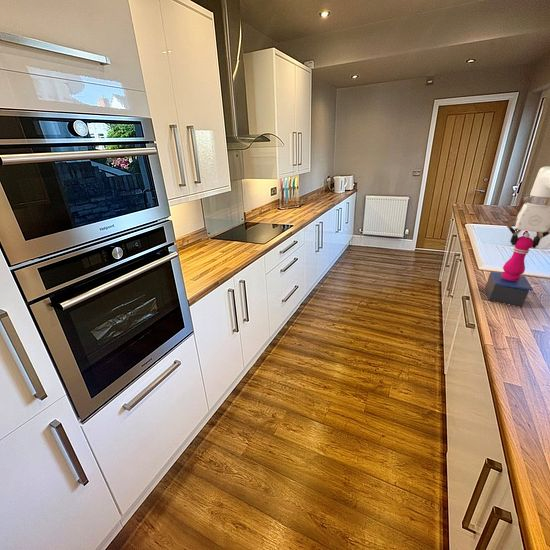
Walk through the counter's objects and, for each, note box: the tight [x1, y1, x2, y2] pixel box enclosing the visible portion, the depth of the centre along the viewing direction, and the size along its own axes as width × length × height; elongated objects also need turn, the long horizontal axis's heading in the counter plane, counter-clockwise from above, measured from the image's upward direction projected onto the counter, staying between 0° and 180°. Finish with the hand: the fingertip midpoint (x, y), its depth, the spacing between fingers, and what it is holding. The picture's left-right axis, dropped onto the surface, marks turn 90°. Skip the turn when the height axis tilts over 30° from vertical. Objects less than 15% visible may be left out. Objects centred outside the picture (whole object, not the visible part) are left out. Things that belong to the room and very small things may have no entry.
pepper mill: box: [501, 232, 534, 281], centre depth 120 cm, size 7×7×20 cm
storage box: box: [484, 272, 530, 308], centre depth 127 cm, size 12×14×8 cm
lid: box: [490, 271, 534, 292], centre depth 125 cm, size 12×14×1 cm
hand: (522, 245), depth 118 cm, fingers closed on pepper mill, 6 cm apart
